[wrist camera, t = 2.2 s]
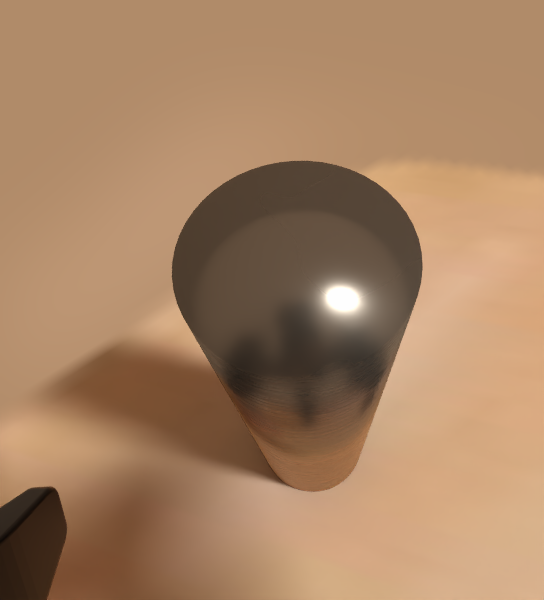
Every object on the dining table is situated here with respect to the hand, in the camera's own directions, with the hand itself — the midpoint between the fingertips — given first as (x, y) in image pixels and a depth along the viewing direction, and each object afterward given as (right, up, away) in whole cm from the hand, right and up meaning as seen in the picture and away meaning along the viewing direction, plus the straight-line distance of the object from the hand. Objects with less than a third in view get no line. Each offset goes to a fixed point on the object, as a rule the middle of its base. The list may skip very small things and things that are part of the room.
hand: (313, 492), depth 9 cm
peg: (+1, -2, +10) cm, 10 cm away
